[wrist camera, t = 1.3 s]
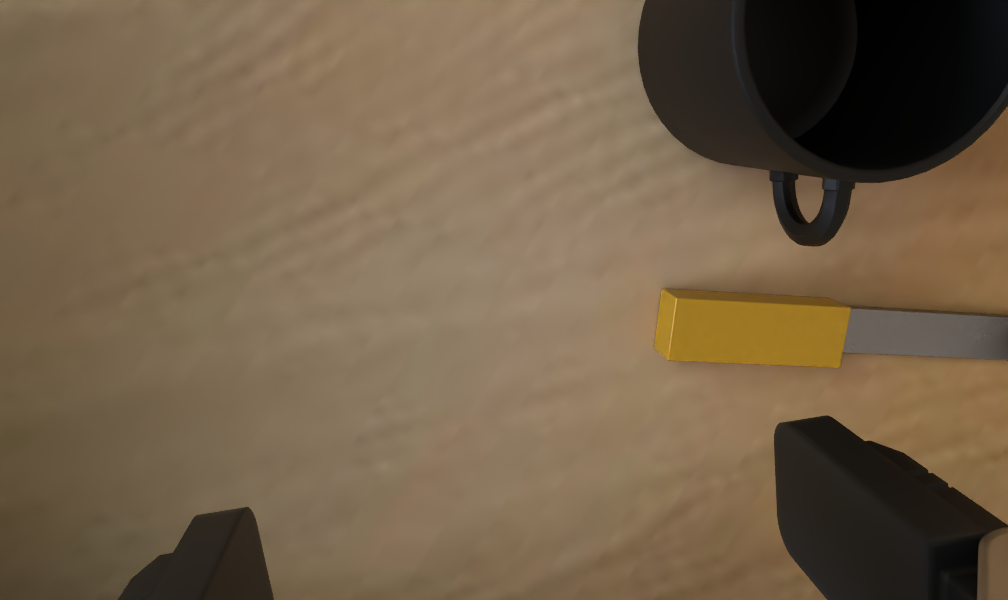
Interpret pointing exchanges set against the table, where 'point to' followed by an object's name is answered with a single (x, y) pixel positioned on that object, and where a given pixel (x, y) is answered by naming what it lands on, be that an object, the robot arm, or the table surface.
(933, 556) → the robot arm
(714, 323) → the letter opener
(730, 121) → the mug
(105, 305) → the table surface
